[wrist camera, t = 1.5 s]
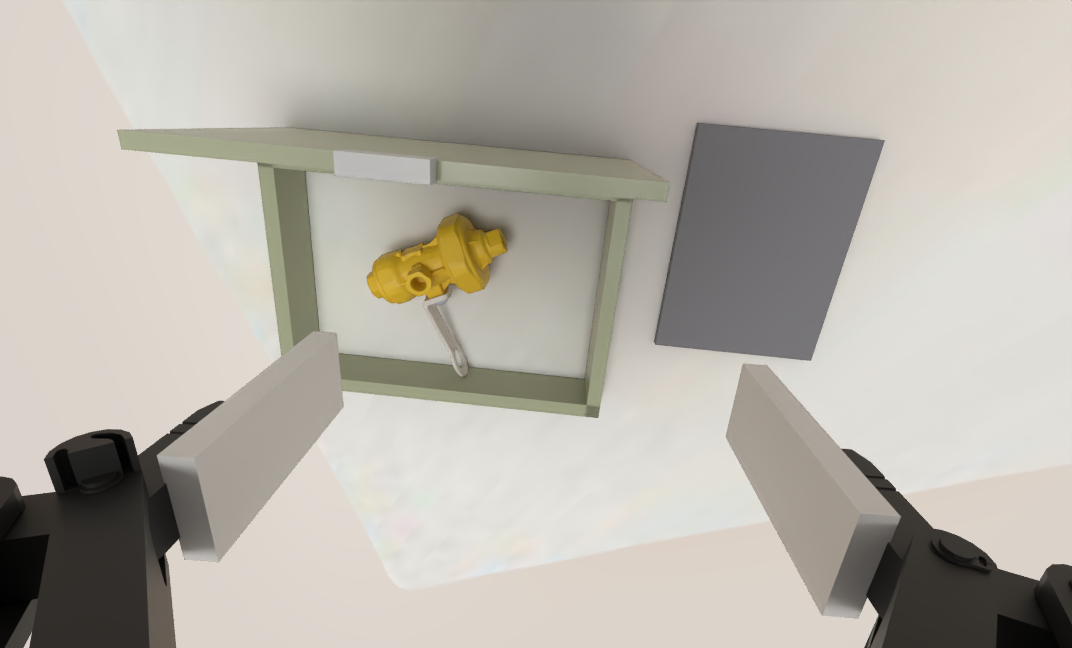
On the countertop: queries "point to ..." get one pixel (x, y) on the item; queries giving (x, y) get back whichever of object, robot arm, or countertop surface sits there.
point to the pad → (762, 238)
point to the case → (424, 163)
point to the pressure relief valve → (439, 272)
